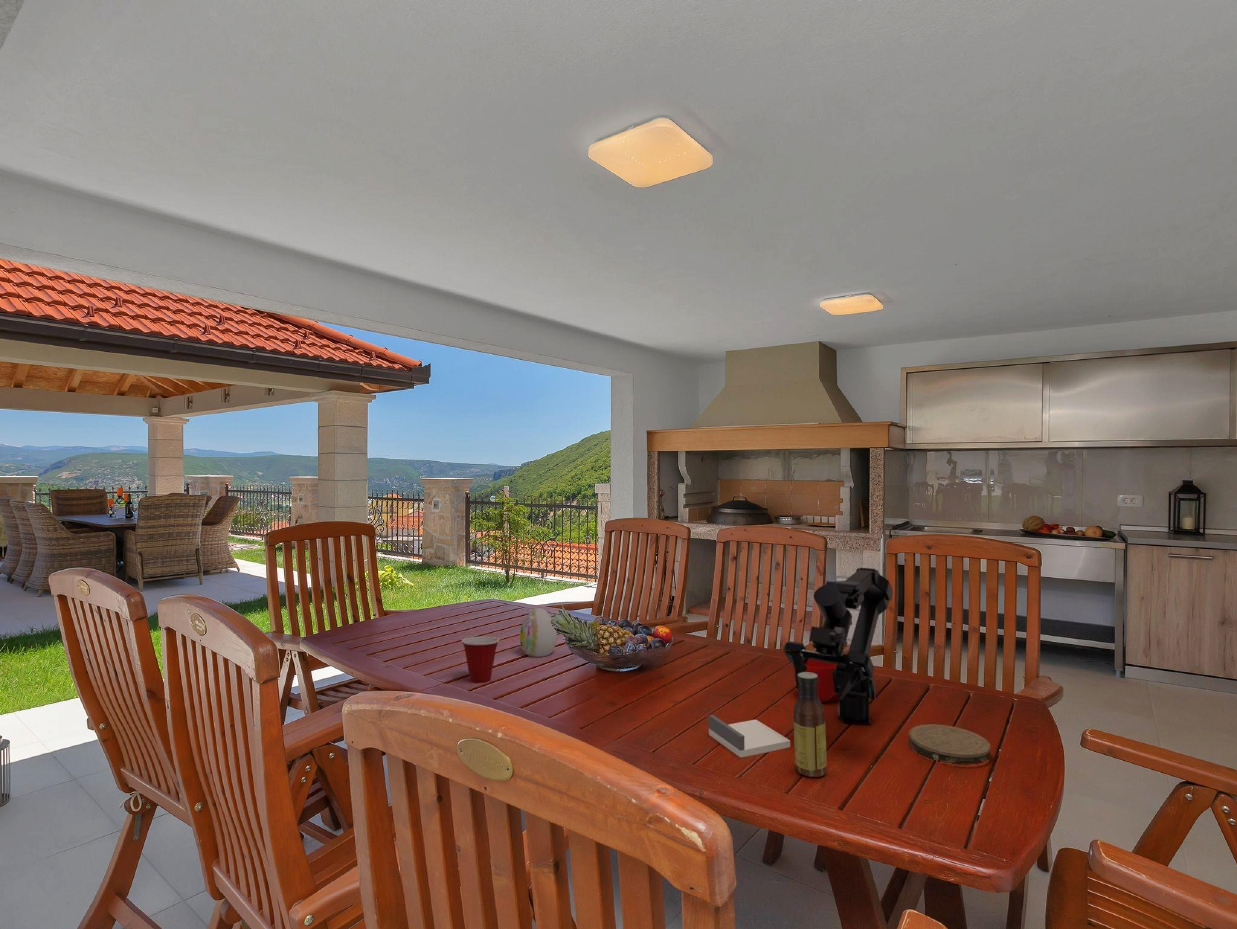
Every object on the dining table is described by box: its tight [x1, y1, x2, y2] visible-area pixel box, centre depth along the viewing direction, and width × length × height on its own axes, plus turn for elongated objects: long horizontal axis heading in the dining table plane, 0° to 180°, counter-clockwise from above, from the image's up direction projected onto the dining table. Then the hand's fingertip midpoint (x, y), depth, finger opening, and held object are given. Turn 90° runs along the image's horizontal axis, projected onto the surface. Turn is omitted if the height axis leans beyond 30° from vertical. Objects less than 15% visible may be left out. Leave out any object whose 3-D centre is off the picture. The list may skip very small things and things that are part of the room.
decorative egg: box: [519, 607, 558, 658], centre depth 216 cm, size 12×12×15 cm
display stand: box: [708, 714, 791, 758], centre depth 148 cm, size 13×13×4 cm
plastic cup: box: [461, 636, 500, 684], centre depth 190 cm, size 11×11×12 cm
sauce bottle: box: [793, 672, 828, 778], centre depth 133 cm, size 6×6×20 cm
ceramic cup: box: [792, 659, 837, 703], centre depth 175 cm, size 13×17×10 cm
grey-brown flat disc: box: [908, 723, 991, 765], centre depth 142 cm, size 16×16×3 cm
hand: (818, 693), depth 140 cm, fingers open, 9 cm apart
